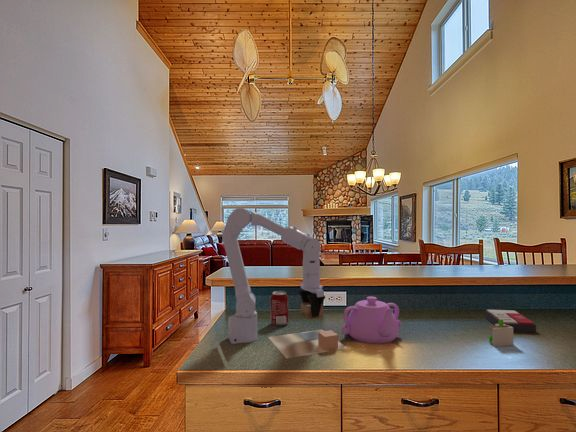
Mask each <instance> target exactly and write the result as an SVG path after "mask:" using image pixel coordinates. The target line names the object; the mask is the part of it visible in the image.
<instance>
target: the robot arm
mask: <svg viewBox="0 0 576 432" xmlns="http://www.w3.org/2000/svg"><path fill="white" fill-rule="evenodd" d="M249 225H250V227H256V226H259V227H262V228H264V229H266V230H268V231H270V232H271V233H275V234H277V235H279V236H280V238H281V240H282V242H283V243H285V244H287V245H289V246H291V247H293V248H295V249H297V250H299V251H300V250H301V251H302V255H303V256H302V258H303V259H302V282H300V289H302V290H298V294H299V295H300V298H301V301H302V303H304V302H310V306H311V313H312V317H317V316H319V313H320V309H321V305H323V302H324V300H325V299H326V295H325V294H324V293H325V292H324V290H323V288H324V286H323V285H321V273H320V272H321V271H320V270H321V268H320V267H321V265H320V263H321V262H320V260H321V259H320V253H321V252H322V246H321V243H320V242H319V240H318V239H317V238H314V237H313V236H311V235H310V234H309V233H304V232H302V231H301V230H299V229H298V227H297V226H295V225H294V226H291V225H289V226H287V227H285V226H282V225H280V224H279V223H277V222H275V221H274V220H271V219H270V218H269V217H266V216H264V215H263V214H260V213H257V212H255V211H251V210H248V209H246V208H244V207H237V208H235V209H234V210H232V212H231V213H230V214H229V215H228V217H227V220H226V223H225V226H224V229H223V231H222V234H221V237H222V243H223V247H224V250H225V254H226V255H225V256H226V259H227V262H228V266H229V270H230V275H231V278H232V282H233V286H234V293H235V300H236V303H235V314H234V315H230V316H228V319H227V320H228V321H227V325H228V326H227V327H228V328H227V330H228V332H227V334H228V335H227V336H228V340H229V342H230V344H231V345H235V344H242V343H245V344H246V343H253V342H255V341H257V340H258V312H257V311H256V303H257V298H256V295H255V294H254V293H253V292H252V290H251V289H252V288H251V286H250V284H249V281H248V280H249V279H248V276H247V271H246V267H245V264H244V260H243V256H242V251H241V248H240V244H239V240H238V238H239V236H240V234H241V233H242V231H243V230H244V229H245V228H246V227H247V226H249Z"/></svg>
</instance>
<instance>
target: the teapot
mask: <svg viewBox="0 0 576 432" xmlns="http://www.w3.org/2000/svg"><path fill="white" fill-rule="evenodd" d="M390 307H393V308H390ZM348 313H349V314H348ZM399 314H400V308H399V306H398V305H397V304H396V303H394V302H388V303H386V302H384V301H381V300H378V297H376V296H370V295H369V296H366V299H363V300H359V301H357V302H356V303H355V304H354V305H351V306H348V307H346V308H345V309H344V311H343V318H344V323H345V324H344V325H342V327H341V329H340V330H341V333H343V334H344V335H349V336H350V337H351V338H353V339H354V340H356V341H359V342H362V343H367V344H386V343H392V342H393V341H394V340H395V339H396V338H397V337H398V335H399V333H400V330H399V329H400V328H401V327H402V323H401V321H400V320H399V316H400V315H399Z"/></svg>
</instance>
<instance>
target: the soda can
mask: <svg viewBox="0 0 576 432" xmlns="http://www.w3.org/2000/svg"><path fill="white" fill-rule="evenodd" d="M270 323H271V325H274V326H276V327H283V326H286V325H287V324H288V323H289V296H288V295H287V292H286V291H283V290H276V291H275V290H274V291H272V295H270Z"/></svg>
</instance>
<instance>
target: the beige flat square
mask: <svg viewBox="0 0 576 432" xmlns="http://www.w3.org/2000/svg"><path fill="white" fill-rule="evenodd" d="M322 331H324V330H323V329H315V330H309V331H302V332H294V333H288V334H282V335H274V336H268V337H267V338H268V339H269V340H270V341H271V342H272V344H273V345H274V346H275V347H276V349H277V350H278V351H279V352H280V354H282V356H283V357H284V358H285V359H286V360H287V359H292V358H298V357H304V356H309V355H310V356H312V355H317V354H322V353H328V352H329V353H330V352H333V351H340V350H346V349H348V347H347V346H345V344H343V343H341V342H340V341H339V340H338V348H335V349H329V350H324V349H323V348H322V347H320V346H319V345H318V332H322Z"/></svg>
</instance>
